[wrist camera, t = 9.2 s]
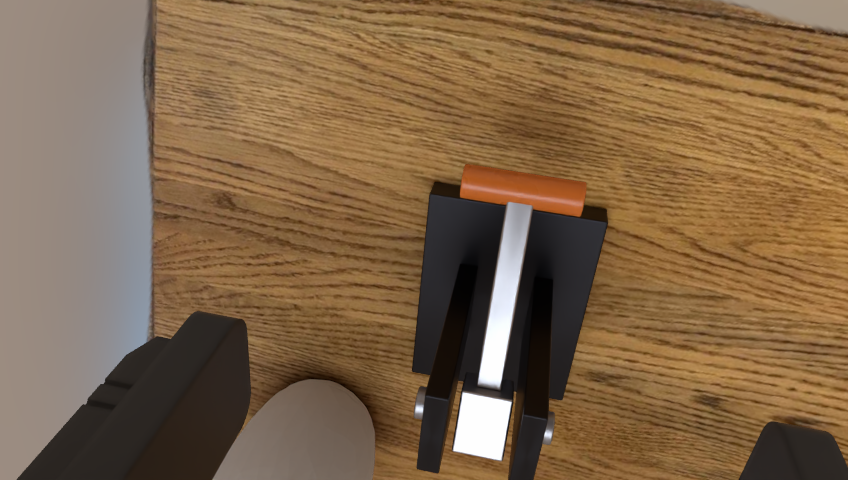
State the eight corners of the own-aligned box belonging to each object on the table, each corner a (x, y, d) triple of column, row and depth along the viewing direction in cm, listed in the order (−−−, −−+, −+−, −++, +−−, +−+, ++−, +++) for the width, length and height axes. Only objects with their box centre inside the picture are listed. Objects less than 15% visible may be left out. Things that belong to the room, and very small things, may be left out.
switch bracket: (434, 181, 36) (381, 310, 26) (606, 208, 35) (622, 354, 24) (416, 356, 42) (368, 516, 32) (562, 384, 41) (560, 558, 31)
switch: (467, 162, 29) (463, 164, 27) (583, 180, 29) (589, 184, 26) (427, 422, 31) (419, 445, 29) (534, 443, 31) (535, 469, 28)
